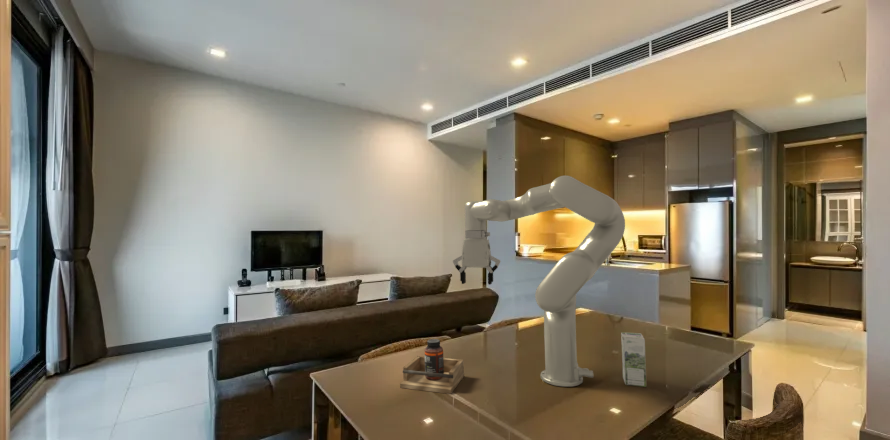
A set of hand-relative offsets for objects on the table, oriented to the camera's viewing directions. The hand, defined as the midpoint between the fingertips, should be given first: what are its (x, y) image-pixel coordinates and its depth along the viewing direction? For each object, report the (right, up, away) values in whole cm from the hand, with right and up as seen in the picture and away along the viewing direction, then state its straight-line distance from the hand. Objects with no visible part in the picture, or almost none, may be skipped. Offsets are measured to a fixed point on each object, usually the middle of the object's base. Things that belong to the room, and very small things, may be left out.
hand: (476, 283), depth 129 cm
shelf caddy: (-15, -28, -16) cm, 36 cm away
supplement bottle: (-15, -27, -16) cm, 34 cm away
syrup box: (+46, -27, -20) cm, 57 cm away
